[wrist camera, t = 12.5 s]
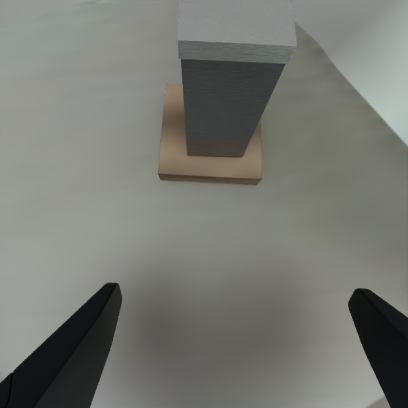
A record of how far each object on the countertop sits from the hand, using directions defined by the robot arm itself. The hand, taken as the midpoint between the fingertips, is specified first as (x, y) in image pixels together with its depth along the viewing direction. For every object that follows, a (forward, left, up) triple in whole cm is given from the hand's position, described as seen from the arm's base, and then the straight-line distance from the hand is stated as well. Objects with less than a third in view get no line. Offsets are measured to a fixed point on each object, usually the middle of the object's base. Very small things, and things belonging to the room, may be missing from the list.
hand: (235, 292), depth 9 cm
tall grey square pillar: (+7, +11, -12) cm, 18 cm away
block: (+7, +12, -14) cm, 20 cm away
